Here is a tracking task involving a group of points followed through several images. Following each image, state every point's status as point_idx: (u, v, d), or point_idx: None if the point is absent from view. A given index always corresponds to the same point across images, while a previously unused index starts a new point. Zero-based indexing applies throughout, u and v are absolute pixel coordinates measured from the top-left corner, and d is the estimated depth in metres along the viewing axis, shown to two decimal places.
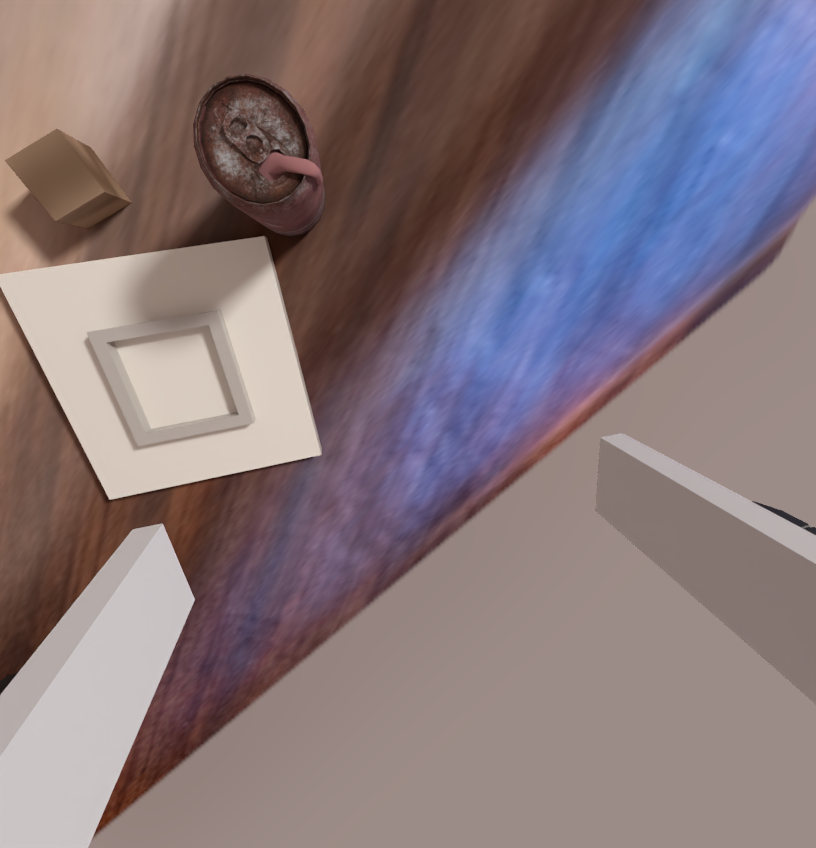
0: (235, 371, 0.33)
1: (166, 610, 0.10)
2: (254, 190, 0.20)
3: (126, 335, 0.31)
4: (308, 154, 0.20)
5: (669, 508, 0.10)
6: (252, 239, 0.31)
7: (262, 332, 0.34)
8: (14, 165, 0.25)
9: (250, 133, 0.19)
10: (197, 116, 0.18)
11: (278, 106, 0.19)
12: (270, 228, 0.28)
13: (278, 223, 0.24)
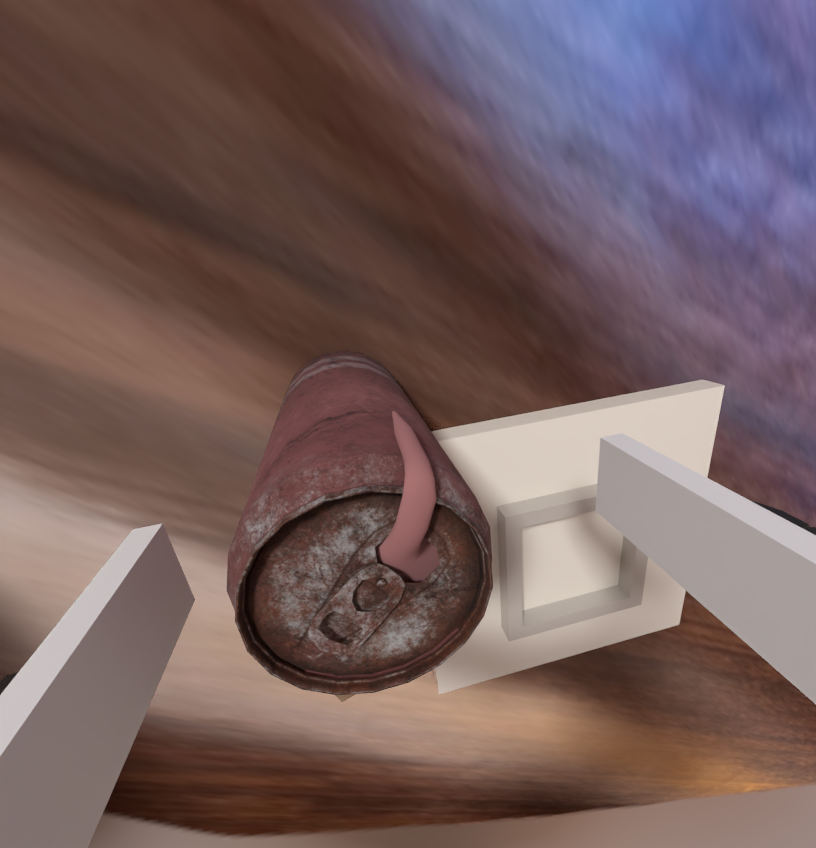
0: (585, 500, 0.23)
1: (166, 610, 0.10)
2: (456, 591, 0.09)
3: (518, 608, 0.25)
4: (390, 493, 0.07)
5: (669, 508, 0.10)
6: None
7: (534, 457, 0.23)
8: (346, 695, 0.23)
9: (349, 603, 0.08)
10: (329, 690, 0.09)
11: (286, 550, 0.08)
12: None
13: None
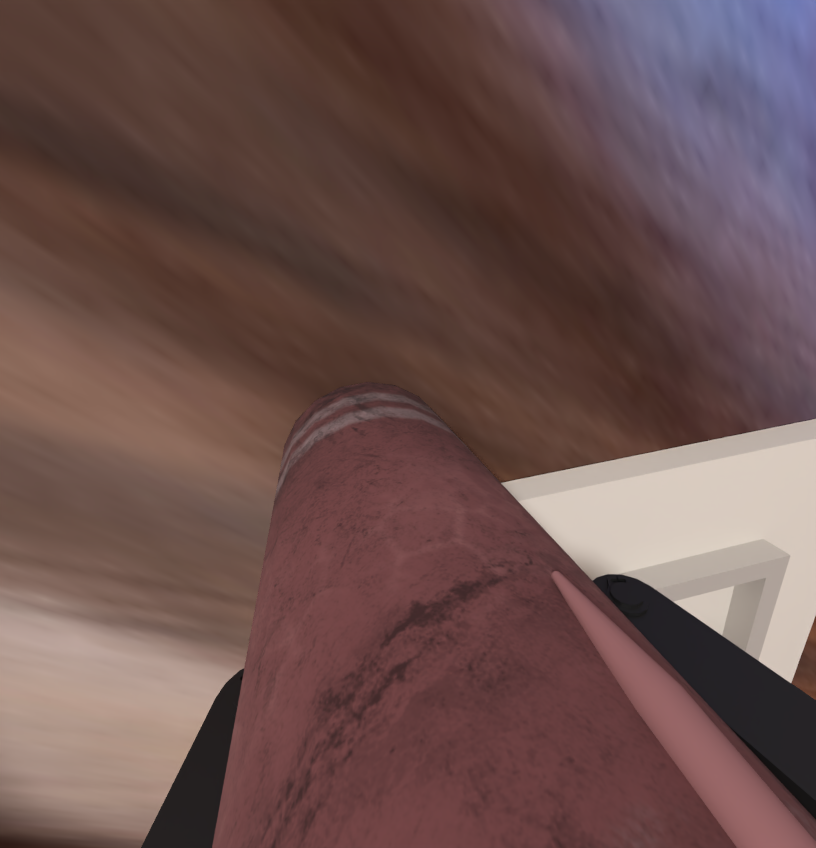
0: (693, 581, 0.17)
1: None
2: None
3: None
4: None
5: None
6: None
7: (624, 523, 0.17)
8: None
9: None
10: None
11: None
12: None
13: None
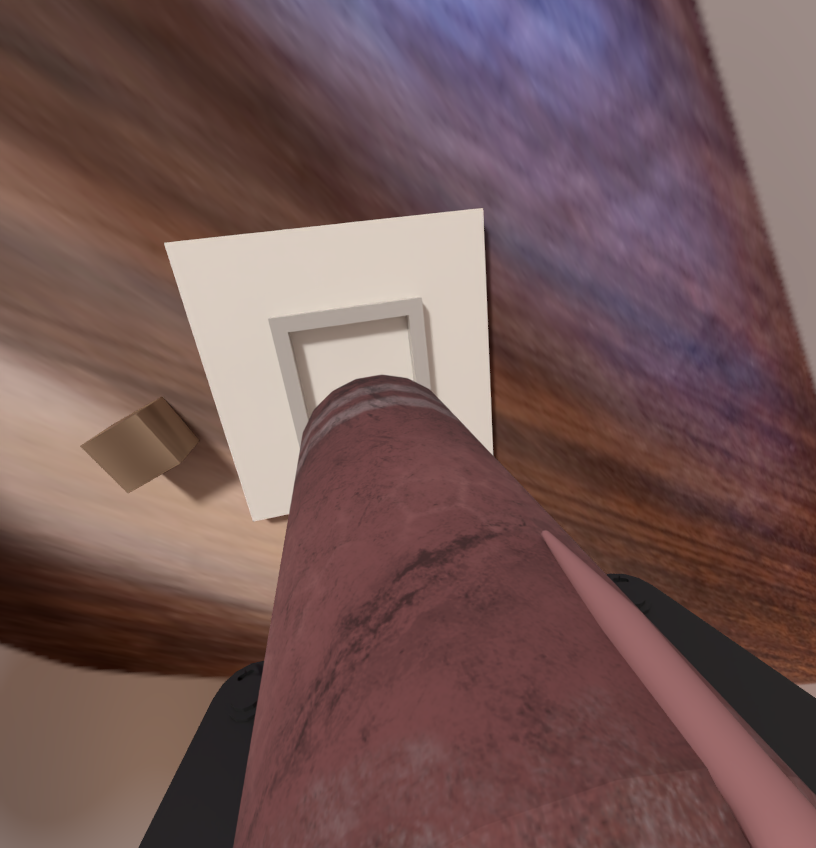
0: (348, 309, 0.25)
1: None
2: None
3: (304, 423, 0.27)
4: None
5: None
6: (171, 260, 0.23)
7: (298, 267, 0.25)
8: (130, 486, 0.25)
9: None
10: None
11: None
12: None
13: None
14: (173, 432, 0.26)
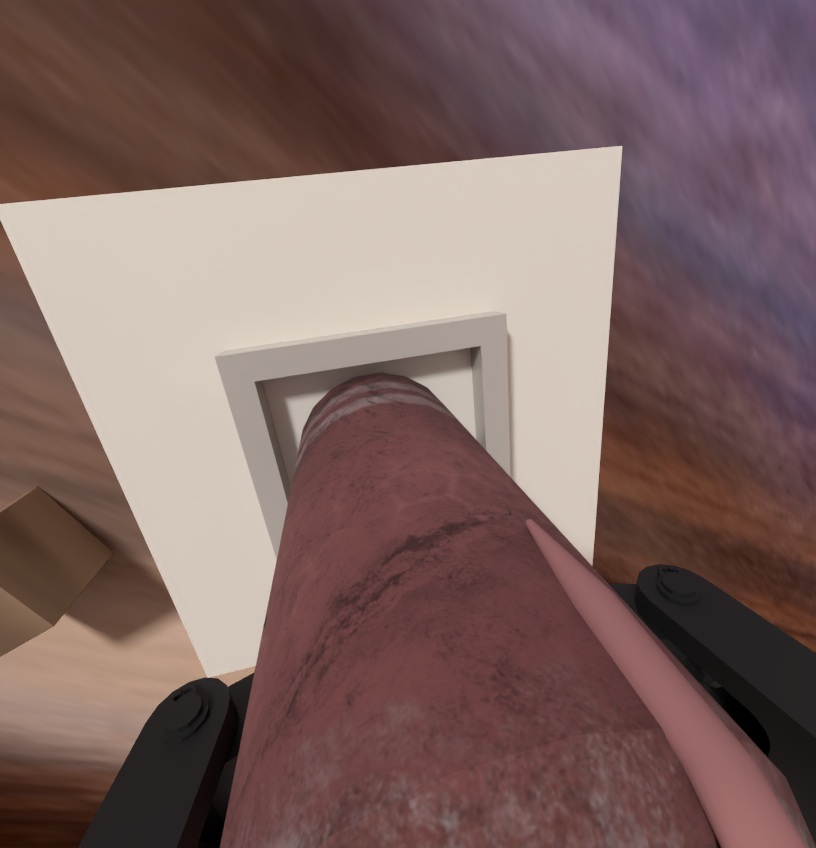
0: (371, 336, 0.13)
1: None
2: None
3: None
4: None
5: None
6: (14, 241, 0.12)
7: (275, 257, 0.13)
8: None
9: None
10: None
11: None
12: None
13: None
14: (50, 557, 0.15)
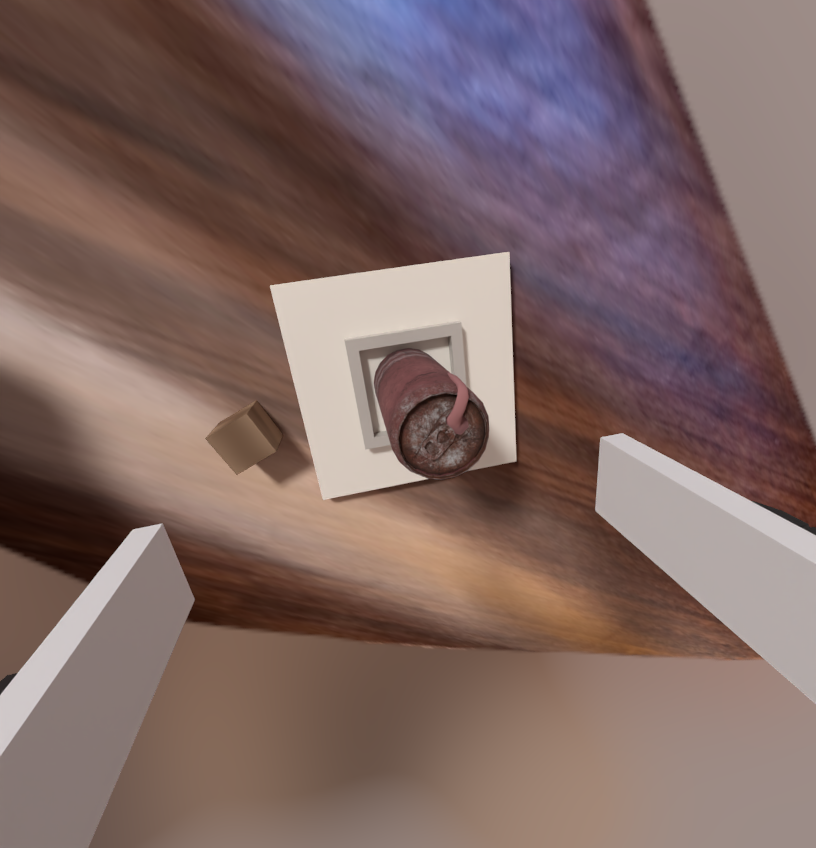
0: (405, 332, 0.32)
1: (166, 610, 0.10)
2: (474, 439, 0.23)
3: (368, 420, 0.35)
4: (453, 394, 0.22)
5: (669, 508, 0.10)
6: (274, 298, 0.31)
7: (367, 301, 0.32)
8: (239, 469, 0.33)
9: (435, 439, 0.23)
10: (425, 476, 0.23)
11: (415, 415, 0.22)
12: None
13: None
14: (268, 428, 0.34)
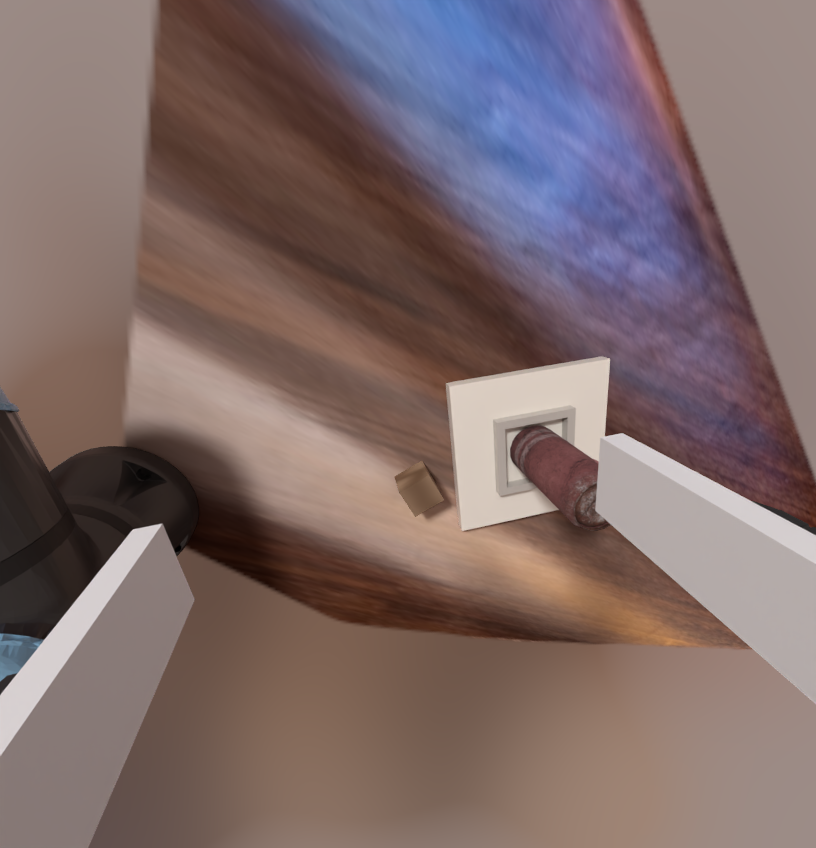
0: (537, 415, 0.46)
1: (166, 610, 0.10)
2: None
3: (504, 476, 0.48)
4: None
5: (669, 508, 0.10)
6: (451, 394, 0.44)
7: (511, 394, 0.46)
8: (417, 513, 0.46)
9: (595, 506, 0.36)
10: (586, 528, 0.36)
11: (585, 492, 0.35)
12: None
13: None
14: (434, 482, 0.47)
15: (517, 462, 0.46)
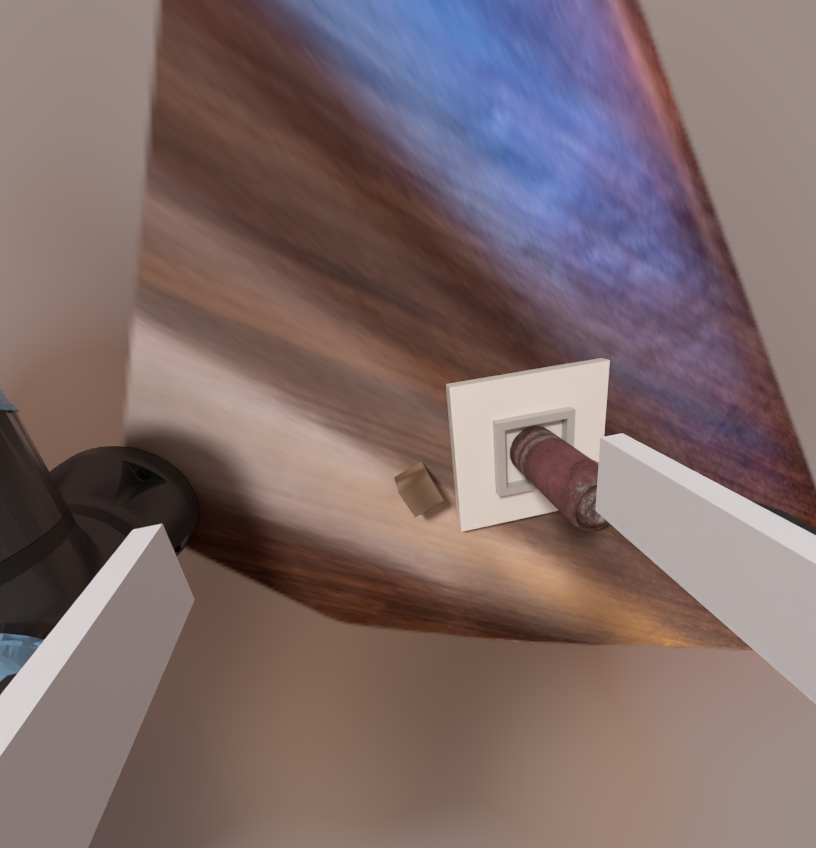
0: (537, 417, 0.46)
1: (166, 610, 0.10)
2: None
3: (504, 477, 0.48)
4: None
5: (669, 508, 0.10)
6: (451, 395, 0.44)
7: (511, 395, 0.46)
8: (417, 513, 0.46)
9: (595, 507, 0.36)
10: (586, 529, 0.37)
11: (586, 494, 0.35)
12: None
13: None
14: (434, 482, 0.47)
15: (517, 463, 0.46)
